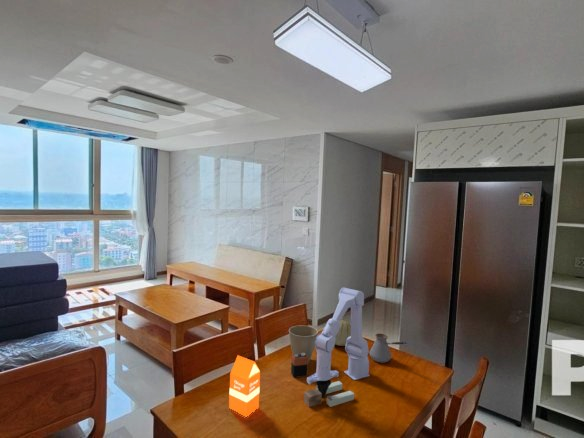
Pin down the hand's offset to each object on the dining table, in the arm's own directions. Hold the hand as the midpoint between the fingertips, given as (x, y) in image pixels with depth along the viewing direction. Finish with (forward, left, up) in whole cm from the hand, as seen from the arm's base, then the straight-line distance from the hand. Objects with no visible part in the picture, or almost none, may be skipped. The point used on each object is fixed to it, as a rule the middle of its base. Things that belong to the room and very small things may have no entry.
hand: (322, 396), depth 130 cm
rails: (-6, 0, -1) cm, 7 cm away
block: (+4, 0, -1) cm, 5 cm away
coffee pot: (-49, -12, -2) cm, 50 cm away
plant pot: (-9, -32, -2) cm, 33 cm away
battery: (-1, -21, -2) cm, 21 cm away
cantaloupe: (-39, -40, -2) cm, 56 cm away
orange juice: (+31, -8, -2) cm, 32 cm away
